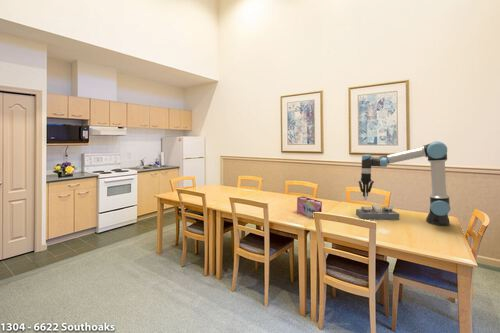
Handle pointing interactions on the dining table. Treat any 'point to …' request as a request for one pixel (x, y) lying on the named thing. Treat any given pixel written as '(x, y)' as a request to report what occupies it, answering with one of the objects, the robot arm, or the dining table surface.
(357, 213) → the console
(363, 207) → the switch
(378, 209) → the switch
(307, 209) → the gum box
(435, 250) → the dining table surface
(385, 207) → the switch
